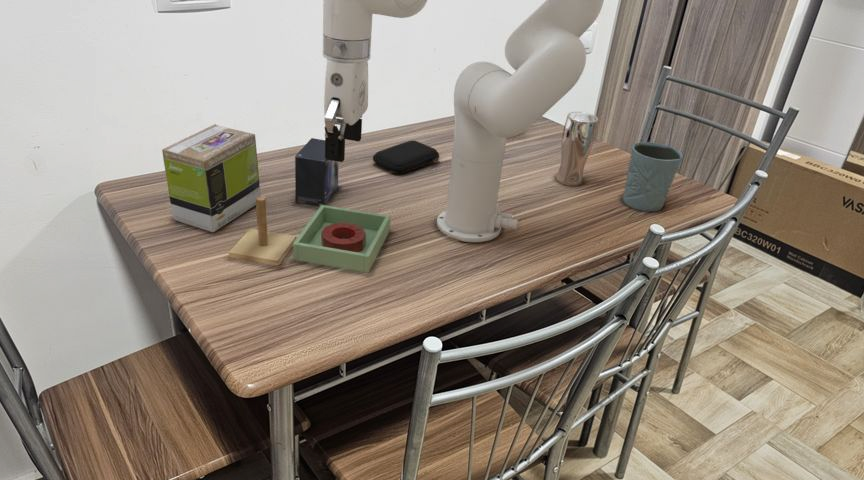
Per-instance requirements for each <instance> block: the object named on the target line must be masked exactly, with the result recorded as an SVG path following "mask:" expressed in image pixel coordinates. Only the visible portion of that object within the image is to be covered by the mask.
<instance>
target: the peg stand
mask: <svg viewBox="0 0 864 480" xmlns="http://www.w3.org/2000/svg"><path fill="white" fill-rule="evenodd" d="M266 202H267V201H266V197H265V196H264V195H263V196H262V195H261V196H259V197H256V205H255V206H256V208H255V209H256V222H257V229H256V228H249V229H248V230H247V231H246V232H245V233H244V234H243V236H242V237H240V239H239V240H238V241H237V242H236V243H235V245H234V246H233V247H232V248H231V249H230V250H229V251H228V257H229V258H231V259H237V260H241V261H242V260H243V261H247V262H248V261H249V262H253V263H260V264H265V265H272V266H275V267H279V265H280V264H281V263H282V262H283V260H284V259H285V257H286V256H287V255H288V254H289V252H290V250H291V249H293V243H294V241H295V240H296V239H297V236H296V235H291V234H286V233H279V232H275V231H268V222H267V221H268V219H267V203H266Z"/></svg>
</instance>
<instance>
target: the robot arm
mask: <svg viewBox="0 0 864 480" xmlns="http://www.w3.org/2000/svg"><path fill="white" fill-rule="evenodd" d="M322 2H323V3H322V4H323V5H322V8H323V9H322V57H323V58H324V59H326V67H325V78H324V80H325V82H324V96H323V113H324V115H323V116H324V125H325V126H324V140H325V159H327V160H332V161H338V162H339V163H343V162H344V161H345V160H346V159H345V155H346V140H347V141H353V142H361V140H362V131H363V115H364V114H365V113H366V112H367V110H368V107H369V62H368V61H369V60H371V51H372V29H373V15H379V16H385V17H392V18H397V19H405V18H410V17H413V16H415V15H417V14H418V13H420V12H421V11H422V10H423V9H424V8H425V6H426V4H427V2H428V0H323V1H322ZM604 2H605V0H545V1H543V3H542V4H541V5H540V6H539V7H538V8H537V9H535V10H534V11H533V13H531V14H530V15H529V16H528V17H527V18H526V19H525V20H523V22H522V23H521V24H520V25H519V26H517V28H516V29H514V30H513V32H512V33H511V34H510V35H509V37H508V38H507V40H506V42H505V46H504V56H505V59H506V62H507V63H508V64H509V65H510V67H511V68H513V70H514V72H513V73H510V72H509V71H507V70H505V68H503V67H501V66H499V65H497V64H495V63H493V62H491V61H490V62H489V61H477V62H473V63H471V64H469V65H468V66H466V67H464V69H463V70H462V71H461V72H460V74H459V75H458V78H457V79H456V82H455V85H454V89H453V90H454V91H453V111H454V127H453V128H454V131H453V143H452V151H451V159H450V160H451V162H450V169H449V179H448V188H447V189H448V190H447V198H446V208H445V210H443V211H442V212H440V213H439V215H437V218H436V226H437V229H438V230H439V231H440V232H441V233H443V234H444V235H446V236H448V237H450V238H452V239H455V240H458V241H459V242H465V243H483V242H489V241H491V240H493V239H495V238H497V237H498V236H499V235H500V234H501V231H502V228H506V229H510V230H517V228H518V223H519V219H518V218H517V219H515V218H513V215H514V213H513V214H512V213H508V212H507V213H506V212H505V213H504V212H502V211H500V210H499V206H500V205H499V203H498V198H499V191H500V185H501V178H502V171H503V164H504V157H505V153H506V143H507V139H509V138H514V137H517V136H518V135H520V134H522V133H524V132H525V131H527V130H528V129H530V127H532V126H533V125H534V124H535V123H536V122H537V121H539V120H540V119H541V118H542V117H543V116H544V115H545V114H546V113H547V112H549V110H550V109H552V108H553V107H554V106H555V105H556V104H557V103H558V102H559V101H560V100H562V99H563V98H564V97H565V95H567V94H568V93H569V92H570V91H571V90H572V89H573V87H574V86H575V85H576V84H577V83H578V81H579V80H580V78H581V76H582V75H583V72H584V70H585V67H586V63H587V52H586V47H585V45H584V43H583V41H582V40H581V39H580V38H581V37H582V36H583V35H584V33H586V32H587V31H588V30H589V28H590V27H591V26H592V25H593V24H594V23H595V22H596V20H597V19H598V17H599V15H600V13H601V11H602V9H603V5H604ZM337 125H338V126H339V127H338V126H337Z"/></svg>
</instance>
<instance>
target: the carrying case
mask: <svg viewBox="0 0 864 480" xmlns="http://www.w3.org/2000/svg"><path fill="white" fill-rule="evenodd" d="M439 159H440V154H439V151H438V150H437V149H436V148H435V147H433V146H430V145H427V144H425V143H422V142H419V141H417V140H408V141H405V142H402V143H399V144H396V145H393V146H389V147H387V148H385V149H381V150H379V151H377V152H376V153H375V154H373V156H372V161H373V162H374V163H375V164H376V165H377V166H379V167H381V168H384V169H385V170H387V171H390V172H392V173H394V174H397V175H400V174H401V175H402V174H405V173H407V172H410V171H412V170H413V171H414V170H415V169H418V168H421V167H423V166H426V165H428V164H435V163H436V162H437V161H439Z"/></svg>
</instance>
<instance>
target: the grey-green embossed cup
mask: <svg viewBox="0 0 864 480" xmlns="http://www.w3.org/2000/svg"><path fill="white" fill-rule="evenodd" d="M682 160H683V153H682V152H681V151H680V150H679V149H677V148H675V147H673V146H670V145H667V144H664V143H660V142H653V141H641V142H636V143H634V144H633V145H632V147H631V152H630V160H629V164H628V170H627V172H628V173H627V174H626V179H625V180H626V181H625V185H624V190H623V194H622V201H623V203H624V204H625V205H626V206H628V207H629V208H631V209H634V210H636V211H641V212H658V211H660V210H662V208H663V206H664V205H665V202H666V198H667V197H668V195H669V191H670V188H671V186H672V184H673V181H674V179H675V175H676V174H677V171H678V169H679V167H680V164H681V162H682Z"/></svg>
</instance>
